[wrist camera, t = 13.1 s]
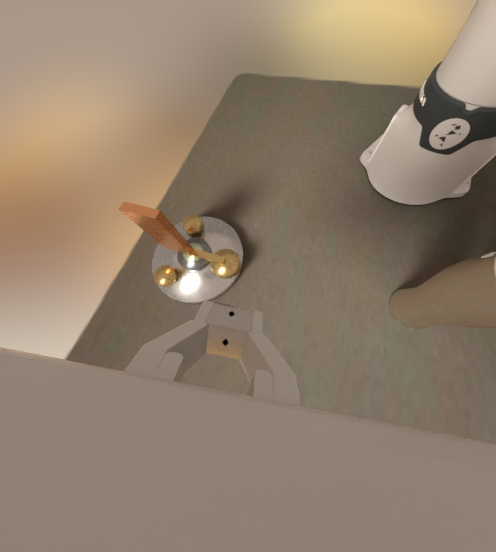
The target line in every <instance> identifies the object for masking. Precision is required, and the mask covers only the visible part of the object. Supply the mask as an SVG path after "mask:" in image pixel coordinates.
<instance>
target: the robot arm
mask: <svg viewBox="0 0 496 552" xmlns="http://www.w3.org/2000/svg"><path fill="white" fill-rule="evenodd" d="M494 156H496V0H478V1H477V3H476V5H475V6H474V8H473V10H472V12H471V14H470V15H469V17H468V19H467V21H466V23H465V24H464V26H463V28H462V30H461V31H460V33H459V35H458V36H457V38H456V40H455V41H454V43H453V45H452V46H451V48H450V50H449V51H448V53H447V55H446V56H445V58H444V60H443V61H442V62H441V63H439V64H438V65H437V66H436V67H435V68H434V70H433V71H432V73H431V74H430V76H429V77H428V78H427V80H426V81H425V83H424V84H423V86H422V87H421V89H420V92H419V94H418V95H417V97H416V99H415V101H414V103H413V104H411V105H410V106H408V105H403V106H402V107H401V108H400V109H399V111H398V112H397V113H396V114H395V115H394V117H393V118H392V120H391V123H390V124H389V126H388V128H387V129H386V131H385V133H384V134H383V135H382V136H381V137H379V138H378V139H377V140H376V141H375V142H374V143H373V144H372V145H371V146H370V147H368V148H367V149H366V150H365V151H364V152H363V153H362V155H361V156H360V161H361V163H362V164H363V165H364V167H365V168H366V169H367V172H368V177H369V180H370V182H371V184H372V185H373V187H374V188H375V189H376V190H377V191H378V192H379V193H381V194H382V195H384V196H385V197H387V198H389V199H391V200H393V201H396V202H399V203H404V204H411V205H422V204H428V203H432V202H435V201H438V200H440V199H443V198H452V197H461V196H463V195H465V194H466V193H467V192H468V191H469V189H470V184H471V178H472V176H473V175H474V174H475V173H477V172H478V171H479V170H480V169H481V168H482V167H483V166H484V165H486V164H487V163H488V162H489V161H490V160H491V159H492V158H493V157H494ZM205 353H208V354H214V355H220V356H225V357H229V358H234V359H238V360H240V362H241V364H242V367H243V369H244V371H245V374H246V376H247V378H248V381H249V383H250V388H249V391H248V394H247V395H242V394H237V393H232V392H227V391H222V390H216V389H211V388H206V387H201V386H196V385H191V384H186V383H182V375H183V373H184V372H186V371H187V370H188V369H189V368H190V367H191V366H192V365H193V364H194V363H196V362H197V361H198V360H199V359H200V358H201V357H202V356H203V355H205ZM0 552H496V444H493V443H488V442H483V441H478V440H472V439H467V438H462V437H457V436H452V435H447V434H442V433H437V432H431V431H426V430H421V429H416V428H411V427H406V426H401V425H396V424H391V423H385V422H380V421H375V420H370V419H365V418H360V417H355V416H350V415H345V414H340V413H334V412H329V411H324V410H319V409H314V408H309V407H304V406H301V403H300V397H299V391H298V385H297V379H296V375H295V374H294V372H293V371H292V370H291V368H290V367H289V366H288V364H287V363H286V362H285V360H284V359H283V358H282V356H281V355H280V354H279V352H278V351H277V350H276V348H275V347H274V346H273V344H272V343H271V342H270V341H269V339H268V338H267V337H266V335H263V312H261V311H256V310H248V309H243V308H238V307H234V306H230V305H225V304H221V303H217V302H212V301H207V300H204V301H203V303H202V305H201V307H200V309H199V311H198V313H197V315H196V317H195V319H194V321H192V320H190V321H188V322H186V323H184V324H182V325H180V326H179V327H177V328H175V329H173V330H171V331H169V332H167V333H165V334H163V335H162V336H160V337H158V338H156V339H154V340H152V341H150V342H148V343H146V344H144V345H143V346H142V348H141V349H140V350H139V352H138V353H137V354H136V356H135V357H134V358H133V360H132V361H131V362H130V364H129V365H128V366H127V368H126V369H125V371H119V370H114V369H109V368H104V367H99V366H94V365H88V364H83V363H78V362H73V361H68V360H63V359H58V358H53V357H47V356H42V355H37V354H32V353H27V352H22V351H16V350H12V349H6V348H1V347H0Z"/></svg>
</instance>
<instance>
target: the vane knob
mask: <svg viewBox="0 0 496 552" xmlns="http://www.w3.org/2000/svg"><path fill="white" fill-rule="evenodd" d="M119 210H120V211H121V212H123V213H124V214H125V215H126V216H127V217H129V218H130V219H131V220H132V221H133V222H134V223H136V224H137V225H138V226H139V227H140V228H142V229H143V230H144V231H145V232H146V233H147V234H149V235H150V236H151V237H152V238H153V239H155V240H156V241H157V242H158V243H159V244H161V245H162V246H163V247H164V248H166V249H169V250H173V251H176V252H180V253H183V254H187V255H190V256H193V257H197V258H200V259H204V260H207V261H211V268H212V270H213V271H214V272H215V274H216V275H217V276H219V277H220V278H223V279H229V278H232V277H234V276H235V275H237V274H238V272H239V271H240V268H241V262H240V259H239V257H238V255H237V253H236V252H235V251H233V250H231V249H221V250H219V251H217V252H216V253H215V254H212V253H208V252H204V251H201V250H197V249H194V248H193V247H192V246H191V245H190V244H189V243H188V242H187V241H186V239H185V238H184V237H183V236H182V235H181V234H180V233H179V231H178V230H177V229H176V228H175V227H174V226H173V225H172V223H171V222H170V221H169V220H168V219H167V218H166V217H165V215H164V214H163V213H162V212H161V211H160V210H157V209H152V208H148V207H144V206H140V205H136V204H132V203H127V202H123V203H122V205H121V207H120V208H119Z"/></svg>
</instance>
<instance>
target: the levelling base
mask: <svg viewBox="0 0 496 552" xmlns="http://www.w3.org/2000/svg"><path fill="white" fill-rule="evenodd" d="M174 227H175V228H176V229H177V230H178V231H179V233H180V234H181V235H182V236H183V237H184V238H185V239H186V241H187V242H188V243H189V244H190V245H191V246H192V247H193V248H194V249H197V250H201V251H204V252H208V253H212V254H215V253H216V252H217V251H219V250H221V249H231V250H233V251H235V252H236V253H237V255H238V257H239V259H240V262H241V268H240V271H239V272H238V274H237V275H235V276H234V277H232V278H229V279H223V278H220V277H219V276H217V275H216V274H215V272H214V271H213V270H212V268H211V261H207V260H204V259H200V258H197V257H193V256H190V255H187V254H183V253H180V252H176V251H173V250H169V249H166V248H164V247H163V246H162V245H161V244H159V243H158V245H157V247H156V250H155V252H154V256H153V262H152V270H153V275H154V281H155V283H156V284H157V285H158V286H159V288H160V289H161V290H162V291H163V292H164V293H165V294H166V295H168V296H169V297H171V298H173V299H175V300H178V301H180V302H183V303H188V304H200V303H203V301H204V300H207V301H212V300H214V299H216V298H218V297H220V296H222V295H223V294H224V293H226V292H227V291H228V290H229V289H230V288H231V287H232V286H233V285H234V283H235V282H236V280H237V279H238V277H239V275H240V273H241V270H242V267H243V260H244V254H243V248H242V244H241V241H240V239H239V236H238V235H237V233H236V232H235V230H234V229H233V228H232V227H231V226H230V225H229V224H227V223H226V222H224V221H222V220H220V219H217V218H213V217H199V216H197V215H195V214H191V215H188V216H186V217H185V218H184V219H183V221H182V222H180V223H179V224H177V225H175V226H174Z"/></svg>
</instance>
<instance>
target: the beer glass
mask: <svg viewBox="0 0 496 552" xmlns="http://www.w3.org/2000/svg"><path fill="white" fill-rule="evenodd" d="M389 308H390V311H391V313H392V315H393V317H394V318H395V319H396V320H397V321H398V322H399V323H401V324H402V325H404V326H406V327H409V328H413V329H421V328H426V327H429V326H432V325H435V324H445V325H454V326H463V327H474V328H496V249H494V250H491V251H487V252H484V253H481V254H478V255H475V256H473V257H470V258H467V259H465V260H462V261H460V262H458V263H455V264H453V265H451V266H449V267H447V268H445V269H444V270H442V271H440V272H438V273H437V274H435V275H434V276H432V277H431V278H429V279H428V280H426V281H425V282H424V283H422V284H420V285H419V286H416V287H412V288H404V289H400V290H398V291H396V292H395V293H393V295H392V296H391V298H390V301H389Z"/></svg>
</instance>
